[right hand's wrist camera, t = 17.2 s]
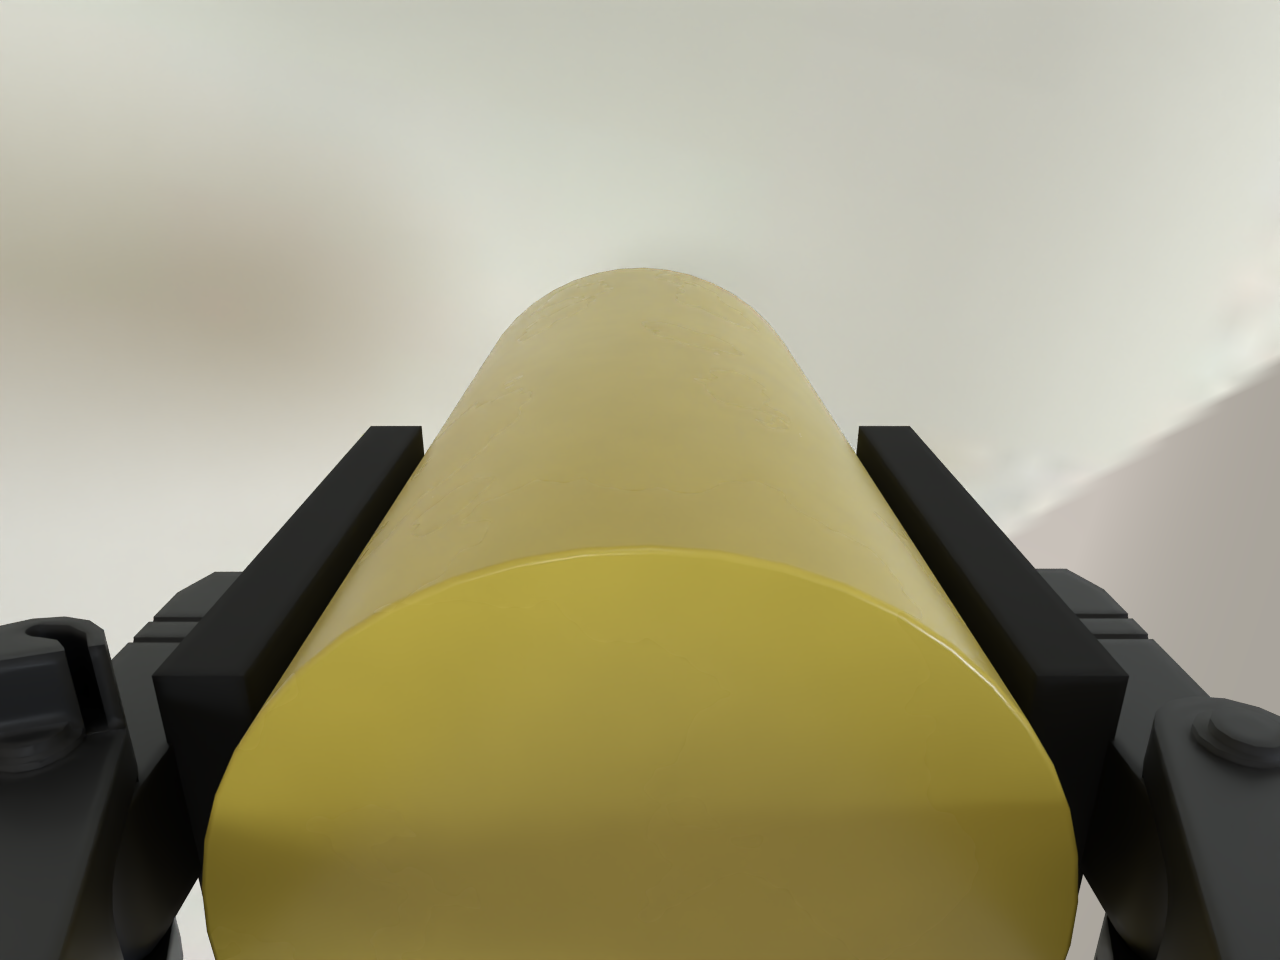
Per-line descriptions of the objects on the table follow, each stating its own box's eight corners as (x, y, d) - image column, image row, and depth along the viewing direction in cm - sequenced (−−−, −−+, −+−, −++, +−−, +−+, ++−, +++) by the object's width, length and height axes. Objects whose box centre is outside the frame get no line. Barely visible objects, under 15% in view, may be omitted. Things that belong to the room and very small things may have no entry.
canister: (745, 211, 16) (961, 398, 5) (850, 527, 18) (1152, 1108, 7) (412, 344, 17) (13, 736, 6) (551, 629, 19) (439, 1280, 8)
